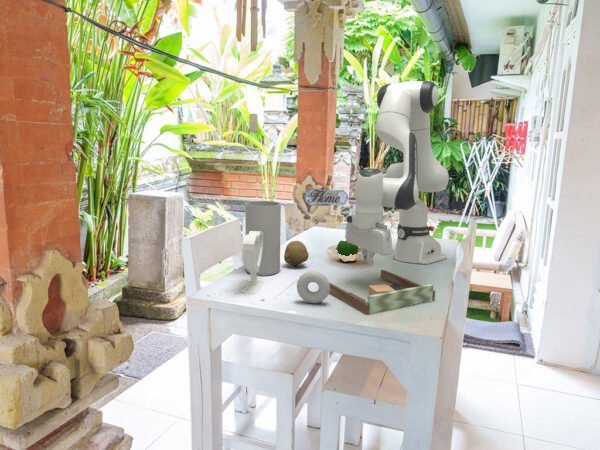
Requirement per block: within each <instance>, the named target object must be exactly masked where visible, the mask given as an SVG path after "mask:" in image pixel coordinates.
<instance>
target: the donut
mask: <svg viewBox="0 0 600 450" xmlns="http://www.w3.org/2000/svg"><path fill="white" fill-rule="evenodd" d="M329 282H330V281H329V279H328V278H327V276H326V275H325V274H323V273H322V272H320V271H318V270H317V271H316V270H309V271H306V272H304V273H303V274H301V275H300V276H299V278H298V280H297V283H296V290H297V293H298V296H299V297H300V299H302V300H303V301H305V303H309V304H319V303H322V302H324V301H325V300H326V299H327V297H328V296H329V291H330V284H329ZM311 283H315V284H316V285H317V286H318V288H317V291H311V290H310V289H309V284H311Z"/></svg>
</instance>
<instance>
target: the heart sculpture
mask: <svg viewBox="0 0 600 450" xmlns="http://www.w3.org/2000/svg"><path fill="white" fill-rule="evenodd" d="M262 252H263V232H262V231H250V232H249V234H247V235H246V234H245V236H244V239H243V242H242V261H243V265H244V267H245V270H246V269H247V270H248V272H250V273H249V275H250V280H249V282H248V283H247V284H246V285H245V287H244V289H243V290H242V291H243V292H242V293H244V294H247V295H252V294H254V295H255V294H258V293H259V291H260V290H261V288H262V287H263V284H264V283H265V281H263V280H257V278H258V277H257V276H258V275H257V272H259V269H260V264H261V259H262ZM248 272H247V273H248Z"/></svg>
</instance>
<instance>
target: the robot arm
mask: <svg viewBox="0 0 600 450" xmlns="http://www.w3.org/2000/svg"><path fill="white" fill-rule="evenodd" d="M439 94H440V93H439V89H438V85H437V84H436V83H435V82H434V81H432V80H431V81H430V80H423V81H422V80H407V81H402V82H395V83H386V84H384V85H382V86H380V88H379V89H378V91H377V93H376V103H377V107H378V113H377V116H376V122H375V133H376V136H377V137H378V138H379V140H380V141H381V142H383V143H384V144H386V145H387V146H389V147H392V148H394V149H396V150H399V151H400V152H402V153H403V155H402V156H403V162H397V163H396V162H395V163H392V164H390V165H389V166H388V167H387V168H386V170H385V171H386V172H385V175H384V176H383V171H382V170H380V169H378V168H373V167H371V168H364V169H362V170H360V171H359V172H358V173H357V176H356V177H357V178H356V182H355V194H354V196H355V202H356V205H355V209H354V213H353V214H348V215H345V222H346V224H345V236H346V238H345V241H347V242H349V243H351V244H354V245H356V246H358V248H360V249H359V250H360V252H361V256H362V261H363V262H365V263H367V264H371V263H372V262H373V258H374V256H375V254H378V255H380V256H387V255H390V254H392V252H393V238H392V234H391V230H390V229H389V227H388V226H387V225H386V224H383V222H384V220H383V219H384V217H383V216H384V209H383V208H384V207H385V208H392V209H397V210H399V214H398V215H399V217H398V223H397V228H396V229H397V231H396V233H397V239H396V243H395V249H394V253H393V255H392V259H394V260H396V261H398V262H404V263H410V264H422V265H429V264H433V263H436V262H440V261H444V260H447V255H445V254H443V253H442V247H441V243H440V242H438V240H437V239H435V238H434V237H433V236H432V235H431V233H430V232H434V231H435V226H432V225H428V214H429V208H428V206H427V203H425V202H424V201H423V200H422V199H420V197H419V195H420V194H419V192H421V193H438V192H442V191H443V190H445V189H446V187H447V186H448V184H449V179H450V178H449V177H450V176H449V172H448V170H447V169H446V167H444V166H443V165H442V164H441V163H440V162H439V161H438V159H437V158H436V156H435V154H434V151H433V148H432V142H431V140H432V139H431V119H430V112H431V111H433V110H434V109H435V108H436V107H437V105H438V102H439V98H440V97H439Z"/></svg>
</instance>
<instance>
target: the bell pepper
mask: <svg viewBox="0 0 600 450" xmlns="http://www.w3.org/2000/svg"><path fill="white" fill-rule="evenodd" d="M344 238H345V239H346V235H345V236H344ZM336 249H337V250H336V252H337V251H338V252H337V254H338V253H339V254H341V255H345V256H349V255H350V254H352V255H354V254H357V255H358V253H359V246H356V245H354V244H351V243H349V242H347V240H340V241H339V242H338V243H337V246H336Z"/></svg>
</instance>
